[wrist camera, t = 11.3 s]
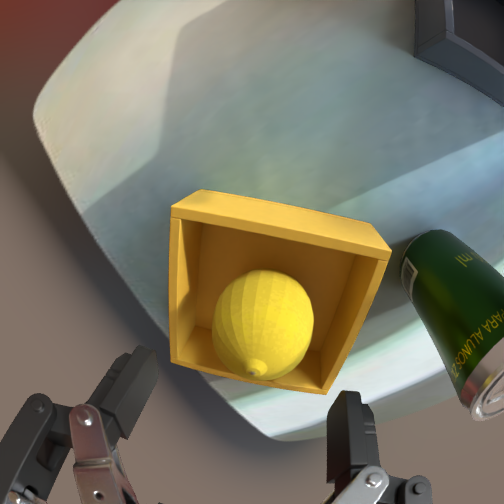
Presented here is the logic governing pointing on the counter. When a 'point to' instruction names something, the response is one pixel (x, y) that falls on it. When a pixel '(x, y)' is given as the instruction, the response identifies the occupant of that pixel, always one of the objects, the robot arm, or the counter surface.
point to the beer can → (460, 315)
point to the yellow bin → (277, 257)
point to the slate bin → (464, 41)
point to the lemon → (262, 324)
